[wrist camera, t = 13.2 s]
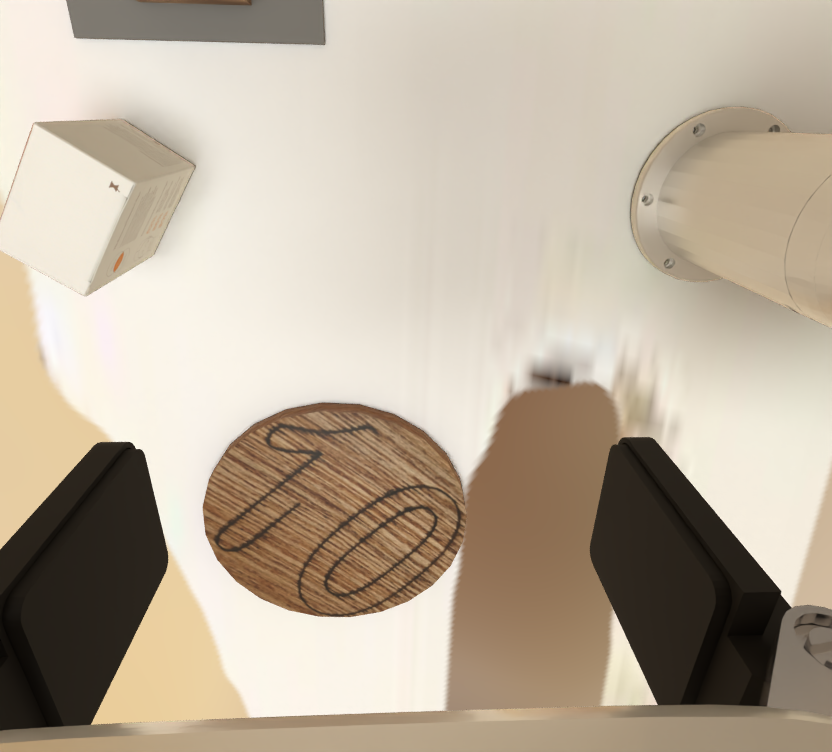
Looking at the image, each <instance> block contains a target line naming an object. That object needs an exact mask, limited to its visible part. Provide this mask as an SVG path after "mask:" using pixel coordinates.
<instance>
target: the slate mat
mask: <svg viewBox="0 0 832 752" xmlns="http://www.w3.org/2000/svg"><path fill="white" fill-rule="evenodd" d="M66 1H67V6H68V10H69V15H70V19H71V24H72V29H73V33H74V37H75V38H89V39H127V40H165V41H203V42H241V43H280V44H318V45H325V36H324V15H323V0H251V3H252V6H251V5H217V4H183V3H150V2H138V1H136V0H66Z"/></svg>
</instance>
